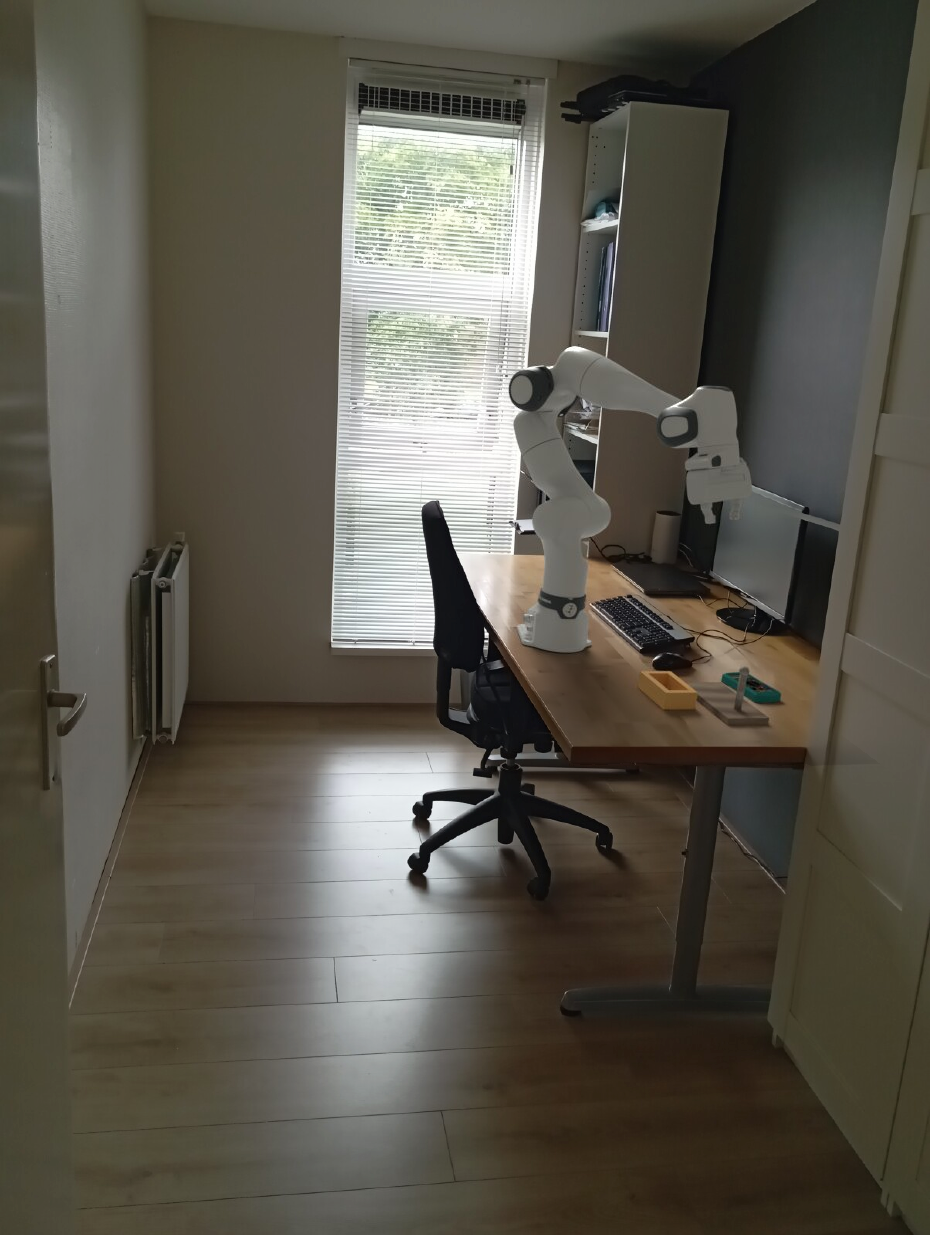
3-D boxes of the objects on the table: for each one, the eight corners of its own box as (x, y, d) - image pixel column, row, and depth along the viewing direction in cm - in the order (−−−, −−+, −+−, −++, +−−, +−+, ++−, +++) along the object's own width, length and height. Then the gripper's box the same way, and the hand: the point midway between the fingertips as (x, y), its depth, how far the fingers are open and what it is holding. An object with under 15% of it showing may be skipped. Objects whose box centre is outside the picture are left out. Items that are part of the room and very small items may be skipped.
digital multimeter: (755, 705, 236) (758, 693, 235) (719, 682, 249) (721, 671, 248) (781, 704, 238) (784, 692, 237) (744, 681, 251) (746, 670, 251)
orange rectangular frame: (637, 687, 239) (640, 671, 238) (668, 687, 241) (670, 671, 240) (663, 709, 226) (665, 692, 225) (694, 709, 228) (697, 692, 227)
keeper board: (681, 688, 241) (689, 641, 237) (719, 688, 243) (727, 642, 240) (727, 724, 220) (736, 674, 217) (768, 724, 223) (777, 674, 220)
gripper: (733, 457, 235) (736, 517, 237) (679, 462, 221) (684, 526, 223) (757, 455, 230) (760, 516, 232) (704, 460, 217) (708, 525, 219)
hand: (722, 521), depth 228 cm, fingers open, 8 cm apart
